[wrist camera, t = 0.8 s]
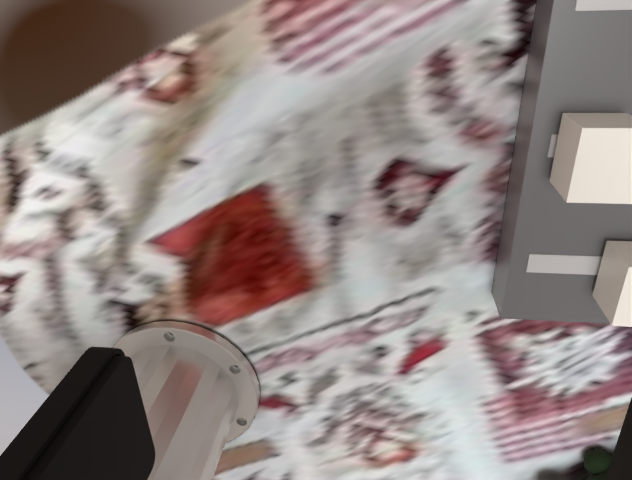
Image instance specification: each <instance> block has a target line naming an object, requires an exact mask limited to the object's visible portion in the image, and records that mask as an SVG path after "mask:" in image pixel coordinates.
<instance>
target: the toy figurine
mask: <svg viewBox="0 0 632 480" xmlns="http://www.w3.org/2000/svg"><path fill="white" fill-rule="evenodd" d="M611 459H612V457H611V455H609V454H608V453H606V452H605V451H603V450H602V449H599V448H597V449H590V450H589V451H588V452H587V453H586V454H585V455H584V467H585V468H586V469H587V470H588V471H589V472H590V473H591V474H592V475H591V476H590V477H589V478H588V479H587V480H605V478H606V475H607V472H608V469H609V466H610V463H611Z"/></svg>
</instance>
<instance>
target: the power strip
mask: <svg viewBox="0 0 632 480" xmlns="http://www.w3.org/2000/svg"><path fill="white" fill-rule="evenodd" d="M563 113H628V114H630V115H632V0H537V2H536V9H535V15H534V22H533V28H532V35H531V41H530V47H529V54H528V60H527V67H526V73H525V80H524V86H523V93H522V99H521V106H520V112H519V119H518V125H517V132H516V138H515V145H514V151H513V157H512V164H511V170H510V177H509V183H508V190H507V196H506V203H505V209H504V216H503V222H502V229H501V235H500V242H499V248H498V254H497V261H496V267H495V274H494V280H493V287H492V294H493V297H494V300H495V303H496V306H497V309H498V312H499V315H500V318H507V319H527V320H547V321H566V322H586V323H606V324H610V322H609V321H608V319H607V318H606V316H605V314H604V313H603V311H602V310H601V308H600V307H599V305H598V304H597V302H596V300H595V299H594V297H593V296H592V295H593V291H594V288H595V284H596V280H597V276H598V272H599V268H600V265H601V261H602V257H603V253H604V249H605V246H606V242H607V241H632V204H607V203H566V201H565V200H564V199H563V198H562V196H561V195H560V194H559V193H558V191H557V190H556V189H555V188H554V186H553V185H552V184H551V183H550V176H551V170H552V165H553V160H554V155H555V150H556V145H557V139H558V134H559V129H560V124H561V119H562V114H563Z"/></svg>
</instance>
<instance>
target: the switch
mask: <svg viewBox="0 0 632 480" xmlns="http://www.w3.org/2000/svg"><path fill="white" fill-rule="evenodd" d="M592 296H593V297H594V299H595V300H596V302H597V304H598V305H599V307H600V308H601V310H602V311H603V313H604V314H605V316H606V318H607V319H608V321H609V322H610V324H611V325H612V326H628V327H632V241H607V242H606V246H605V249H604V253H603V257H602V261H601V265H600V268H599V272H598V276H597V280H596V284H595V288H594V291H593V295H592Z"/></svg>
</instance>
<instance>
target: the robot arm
mask: <svg viewBox="0 0 632 480" xmlns="http://www.w3.org/2000/svg"><path fill="white" fill-rule="evenodd" d="M259 400H260V389H259V383H258V380H257V377H256V374H255V372H254V370H253V368H252V367H251V365H250V363H249V361H248V360H247V359H246V358H245V357H244V356H243V354H242V353H241V352H240V351H239V350H238V349H237V348H236V347H234V346H233V345H232V344H231V343H230V342H228V341H227V340H225V339H224V338H222V337H220V336H219V335H217V334H215V333H214V332H211V331H209V330H207V329H204V328H202V327H199V326H196V325H192V324H188V323H184V322H174V321H161V322H152V323H148V324H144V325H141V326H139V327H137V328H135V329H133V330H131V331H129V332H128V333H127V334H125V335H124V336H123V337H122V338H121V339H120V340H119V341H118V343H117V344H116V345H115V346H114V348H104V347H91V348H89V349H88V350H87V351H85V353H84V354H83V355H82V356H81V357H80V359H79V360H78V361H77V362H76V364H75V365H74V366H73V367H72V369H71V370H70V371H69V372H68V373H67V375H66V376H65V377H64V378H63V380H62V381H61V382H60V383H59V385H58V386H57V387H56V388H55V389H54V391H53V392H52V393H51V394H50V396H49V397H48V398H47V399H46V400H45V402H44V403H43V404H42V405H41V407H40V408H39V409H38V410H37V412H36V413H35V414H34V415H33V416H32V418H31V419H30V420H29V421H28V423H27V424H26V425H25V426H24V428H23V429H22V430H21V431H20V432H19V434H18V435H17V436H16V437H15V439H14V440H13V441H12V442H11V443H10V445H9V446H8V447H7V448H6V450H5V451H4V452H3V453H2V455H1V456H0V480H212V479H213V476H214V473H215V470H216V468H217V465H218V462H219V459H220V456H221V453H222V451H223V448H224V445H225V443H226V442H229V441H232V440H233V439H235V438H237V437H238V436H240V435H242V434H243V433H244V432H245V431H246V430H247V429H248V428H249V427H250V425H251V423H252V422H253V420H254V418H255V415H256V412H257V409H258V406H259ZM605 480H632V399H631V402H630V405H629V408H628V411H627V414H626V417H625V420H624V423H623V426H622V429H621V432H620V435H619V438H618V441H617V444H616V447H615V450H614V453H613V456H612V459H611V463H610V466H609V469H608V472H607V475H606V478H605Z"/></svg>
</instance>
